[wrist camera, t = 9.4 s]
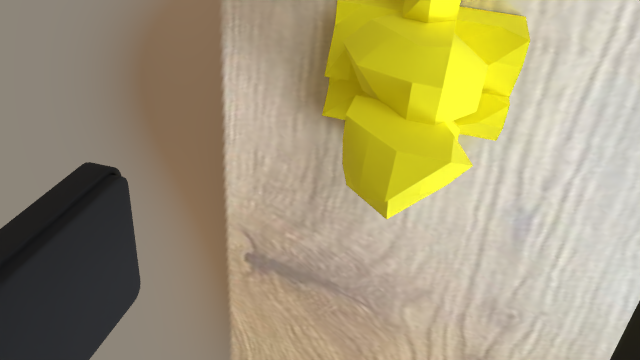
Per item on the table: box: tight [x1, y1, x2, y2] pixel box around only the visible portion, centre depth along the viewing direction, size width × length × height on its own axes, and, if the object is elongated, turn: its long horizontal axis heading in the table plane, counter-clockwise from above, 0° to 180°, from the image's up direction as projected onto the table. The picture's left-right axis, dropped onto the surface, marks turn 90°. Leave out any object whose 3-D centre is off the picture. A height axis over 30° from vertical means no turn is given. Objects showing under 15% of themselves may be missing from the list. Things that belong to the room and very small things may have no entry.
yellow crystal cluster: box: [322, 0, 530, 219], centre depth 16 cm, size 6×8×8 cm
